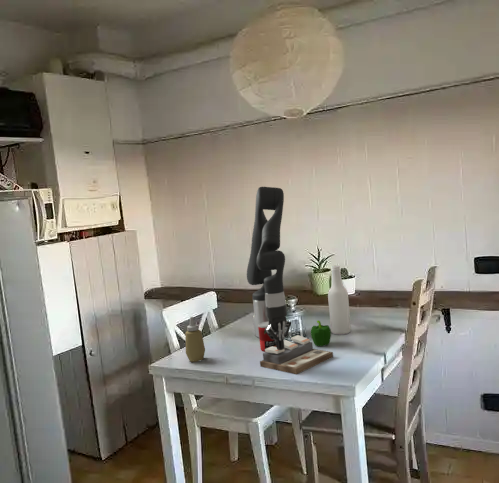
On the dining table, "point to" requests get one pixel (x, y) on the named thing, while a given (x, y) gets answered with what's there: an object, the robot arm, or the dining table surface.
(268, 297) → the robot arm
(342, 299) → the alcohol
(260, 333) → the canned food
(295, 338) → the rocker
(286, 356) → the switch box
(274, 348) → the rocker
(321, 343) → the bell pepper
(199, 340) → the squeeze bottle
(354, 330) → the dining table surface
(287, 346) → the rocker
